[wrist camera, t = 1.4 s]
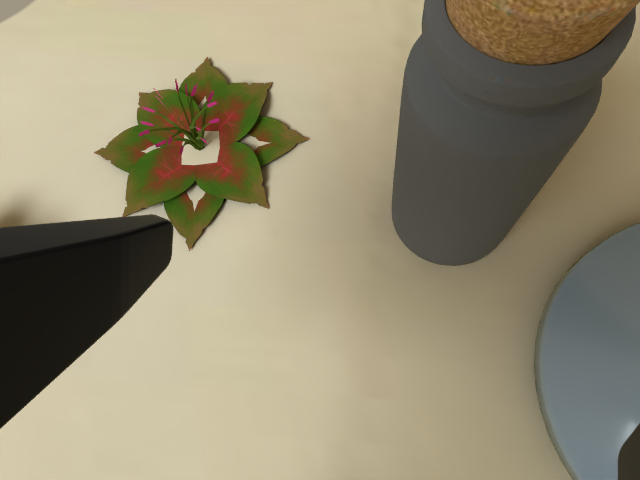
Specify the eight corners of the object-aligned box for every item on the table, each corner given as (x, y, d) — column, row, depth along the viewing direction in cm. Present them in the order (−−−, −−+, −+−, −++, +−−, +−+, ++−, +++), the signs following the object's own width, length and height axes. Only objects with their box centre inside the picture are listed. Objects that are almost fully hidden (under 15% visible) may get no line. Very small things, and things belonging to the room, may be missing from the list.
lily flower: (213, 38, 30) (187, -24, 26) (347, 142, 27) (342, 90, 22) (67, 160, 28) (12, 116, 24) (190, 292, 25) (151, 267, 20)
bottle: (394, 159, 25) (420, -152, 11) (506, 165, 25) (684, -164, 11) (387, 262, 23) (409, 37, 9) (509, 271, 23) (730, 42, 9)
